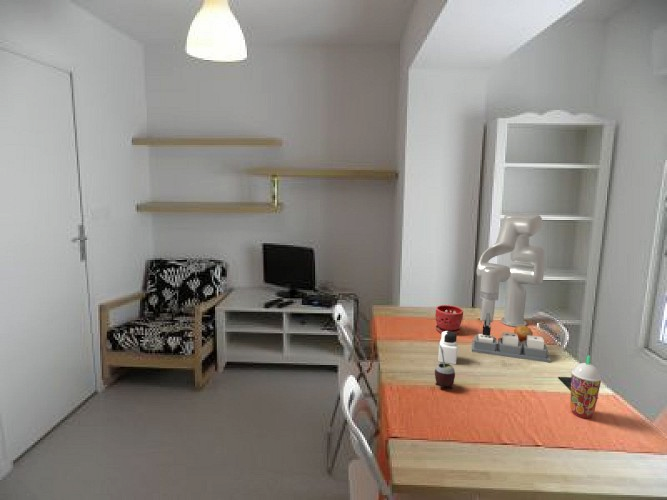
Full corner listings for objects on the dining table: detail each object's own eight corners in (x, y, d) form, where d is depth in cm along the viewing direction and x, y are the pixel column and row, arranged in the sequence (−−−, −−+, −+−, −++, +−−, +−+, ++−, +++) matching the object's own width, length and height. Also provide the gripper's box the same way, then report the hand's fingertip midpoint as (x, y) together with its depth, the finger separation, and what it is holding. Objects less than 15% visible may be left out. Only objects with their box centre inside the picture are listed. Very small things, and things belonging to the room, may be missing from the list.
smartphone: (575, 377, 160) (597, 396, 145) (575, 379, 160) (597, 399, 145) (557, 376, 160) (577, 395, 145) (557, 378, 160) (577, 398, 145)
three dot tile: (477, 341, 190) (478, 333, 189) (492, 343, 188) (492, 334, 187) (477, 346, 184) (478, 337, 184) (492, 348, 182) (493, 339, 182)
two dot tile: (501, 340, 186) (502, 331, 186) (516, 342, 184) (517, 333, 184) (502, 345, 181) (503, 336, 180) (517, 347, 179) (518, 338, 178)
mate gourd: (450, 393, 147) (453, 353, 144) (429, 387, 151) (431, 348, 148) (456, 384, 153) (459, 346, 151) (435, 379, 157) (438, 341, 155)
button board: (472, 342, 193) (472, 333, 193) (545, 352, 183) (546, 342, 183) (471, 351, 183) (472, 341, 182) (549, 362, 173) (551, 352, 172)
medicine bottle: (456, 357, 177) (458, 330, 175) (455, 364, 170) (457, 336, 168) (439, 355, 179) (441, 328, 177) (438, 361, 172) (439, 334, 170)
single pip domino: (526, 343, 183) (527, 334, 182) (541, 345, 181) (542, 336, 181) (527, 348, 178) (528, 339, 177) (543, 350, 176) (544, 341, 175)
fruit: (526, 333, 202) (531, 323, 197) (531, 347, 196) (536, 336, 191) (509, 332, 203) (513, 322, 198) (513, 346, 197) (517, 335, 192)
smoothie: (561, 407, 139) (567, 350, 136) (584, 406, 140) (591, 350, 136) (577, 421, 131) (585, 361, 127) (602, 420, 132) (610, 361, 128)
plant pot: (432, 334, 203) (434, 310, 201) (436, 325, 215) (438, 303, 213) (460, 338, 198) (462, 314, 196) (462, 329, 210) (464, 306, 208)
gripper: (480, 289, 191) (477, 327, 194) (480, 299, 177) (477, 339, 180) (497, 291, 188) (494, 329, 191) (499, 300, 174) (495, 342, 178)
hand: (486, 334), depth 186 cm, fingers closed
